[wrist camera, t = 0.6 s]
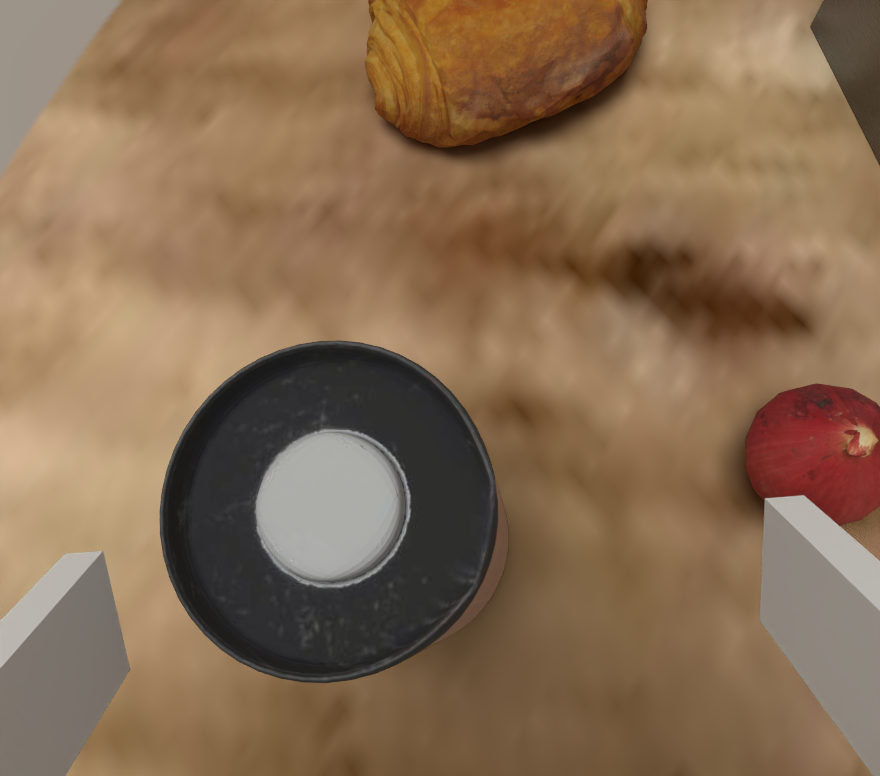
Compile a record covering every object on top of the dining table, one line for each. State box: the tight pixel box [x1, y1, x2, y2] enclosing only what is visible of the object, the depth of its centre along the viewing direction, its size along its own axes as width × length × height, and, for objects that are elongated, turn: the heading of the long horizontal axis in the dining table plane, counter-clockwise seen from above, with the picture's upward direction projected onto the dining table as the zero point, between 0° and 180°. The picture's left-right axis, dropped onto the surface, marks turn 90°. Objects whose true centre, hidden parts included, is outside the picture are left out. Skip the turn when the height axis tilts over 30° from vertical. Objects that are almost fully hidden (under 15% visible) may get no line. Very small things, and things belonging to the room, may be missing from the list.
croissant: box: [365, 0, 648, 148], centre depth 39 cm, size 14×16×8 cm
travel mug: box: [160, 341, 509, 683], centre depth 26 cm, size 8×8×20 cm
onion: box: [745, 384, 880, 525], centre depth 31 cm, size 6×6×8 cm
